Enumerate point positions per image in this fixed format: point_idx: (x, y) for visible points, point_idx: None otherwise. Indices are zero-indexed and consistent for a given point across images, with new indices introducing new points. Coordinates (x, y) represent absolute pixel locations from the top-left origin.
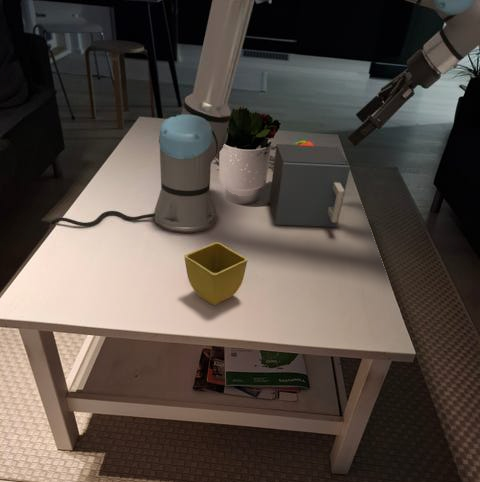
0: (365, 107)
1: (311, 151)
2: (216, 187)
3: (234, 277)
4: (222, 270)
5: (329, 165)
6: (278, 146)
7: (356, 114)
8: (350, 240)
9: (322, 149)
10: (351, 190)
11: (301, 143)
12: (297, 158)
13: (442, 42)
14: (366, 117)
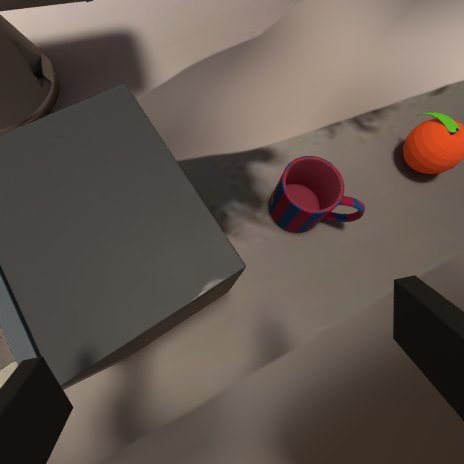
0: (461, 346)
1: (122, 200)
2: (165, 77)
3: None
4: None
5: (3, 315)
6: (100, 95)
7: (397, 284)
8: (72, 418)
9: (174, 226)
10: (354, 314)
11: (439, 124)
12: (8, 186)
13: None
14: (421, 361)
